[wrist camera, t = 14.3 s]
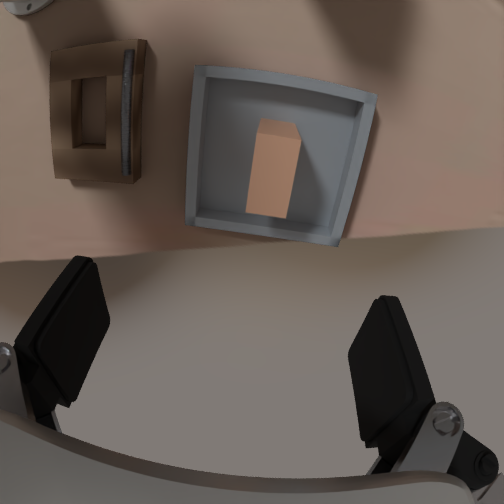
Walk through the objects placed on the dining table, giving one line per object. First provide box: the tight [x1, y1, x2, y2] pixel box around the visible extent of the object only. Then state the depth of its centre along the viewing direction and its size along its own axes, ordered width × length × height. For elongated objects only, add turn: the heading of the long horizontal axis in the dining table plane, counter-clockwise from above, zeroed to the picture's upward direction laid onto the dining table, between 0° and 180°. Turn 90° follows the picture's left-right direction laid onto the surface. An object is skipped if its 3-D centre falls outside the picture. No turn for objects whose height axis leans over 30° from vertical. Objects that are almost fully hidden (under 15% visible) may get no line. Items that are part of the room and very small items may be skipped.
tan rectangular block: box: [246, 118, 302, 219], centre depth 24 cm, size 6×3×7 cm, turn 172°
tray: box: [185, 65, 378, 247], centre depth 26 cm, size 15×15×2 cm
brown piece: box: [50, 39, 147, 184], centre depth 24 cm, size 14×10×2 cm
